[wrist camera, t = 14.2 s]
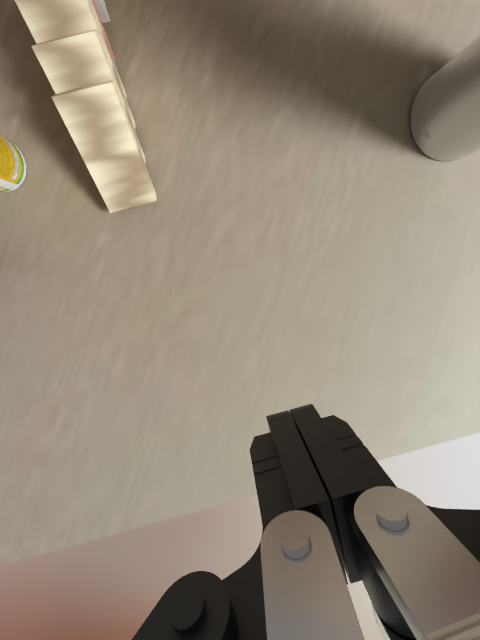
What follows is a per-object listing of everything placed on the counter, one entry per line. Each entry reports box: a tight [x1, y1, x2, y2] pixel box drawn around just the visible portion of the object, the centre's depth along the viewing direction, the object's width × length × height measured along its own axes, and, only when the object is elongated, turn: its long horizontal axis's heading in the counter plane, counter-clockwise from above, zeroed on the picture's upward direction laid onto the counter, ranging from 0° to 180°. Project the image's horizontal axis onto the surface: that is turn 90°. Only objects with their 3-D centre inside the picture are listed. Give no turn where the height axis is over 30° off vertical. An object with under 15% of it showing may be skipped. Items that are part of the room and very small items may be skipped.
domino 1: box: [15, 0, 135, 129], centre depth 26 cm, size 5×2×10 cm
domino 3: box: [52, 80, 156, 213], centre depth 28 cm, size 5×2×10 cm
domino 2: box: [31, 29, 146, 163], centre depth 27 cm, size 5×2×10 cm
